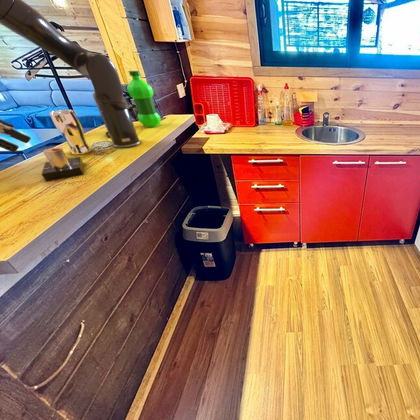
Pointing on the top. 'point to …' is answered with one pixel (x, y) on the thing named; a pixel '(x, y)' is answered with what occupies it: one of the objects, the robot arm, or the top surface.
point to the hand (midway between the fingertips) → (23, 144)
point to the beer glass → (70, 130)
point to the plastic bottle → (143, 100)
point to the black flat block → (63, 170)
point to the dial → (56, 158)
